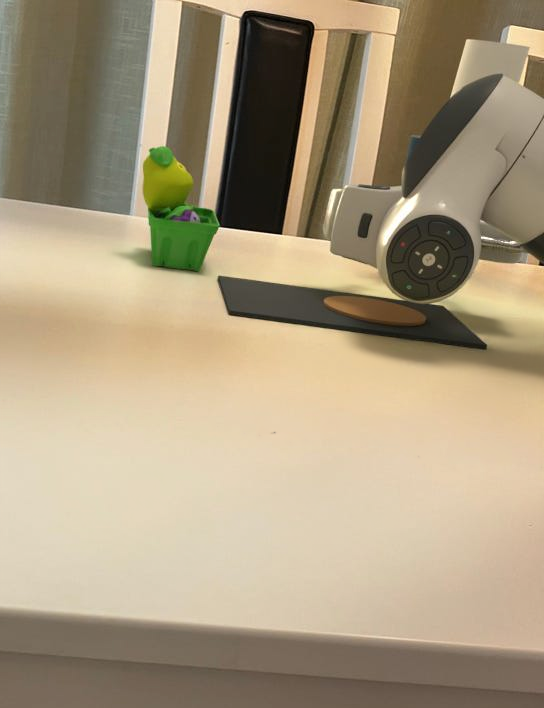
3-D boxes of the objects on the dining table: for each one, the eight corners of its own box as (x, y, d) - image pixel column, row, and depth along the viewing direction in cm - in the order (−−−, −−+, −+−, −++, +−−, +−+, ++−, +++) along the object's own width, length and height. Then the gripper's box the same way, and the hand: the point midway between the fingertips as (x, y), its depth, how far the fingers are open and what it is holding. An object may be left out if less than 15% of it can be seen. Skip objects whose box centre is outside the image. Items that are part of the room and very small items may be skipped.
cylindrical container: (403, 264, 128) (466, 38, 115) (406, 256, 134) (466, 40, 121) (460, 275, 126) (531, 46, 114) (461, 266, 132) (528, 48, 119)
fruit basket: (212, 275, 107) (233, 160, 102) (129, 264, 107) (146, 148, 101) (205, 256, 117) (224, 149, 111) (130, 246, 117) (145, 139, 111)
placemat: (442, 309, 106) (444, 302, 106) (486, 349, 93) (488, 341, 92) (217, 279, 106) (218, 272, 106) (228, 314, 93) (230, 306, 92)
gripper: (551, 216, 93) (535, 200, 104) (329, 182, 97) (338, 170, 108) (527, 286, 96) (514, 263, 107) (313, 250, 100) (323, 232, 111)
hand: (424, 216), depth 108 cm, fingers open, 8 cm apart
